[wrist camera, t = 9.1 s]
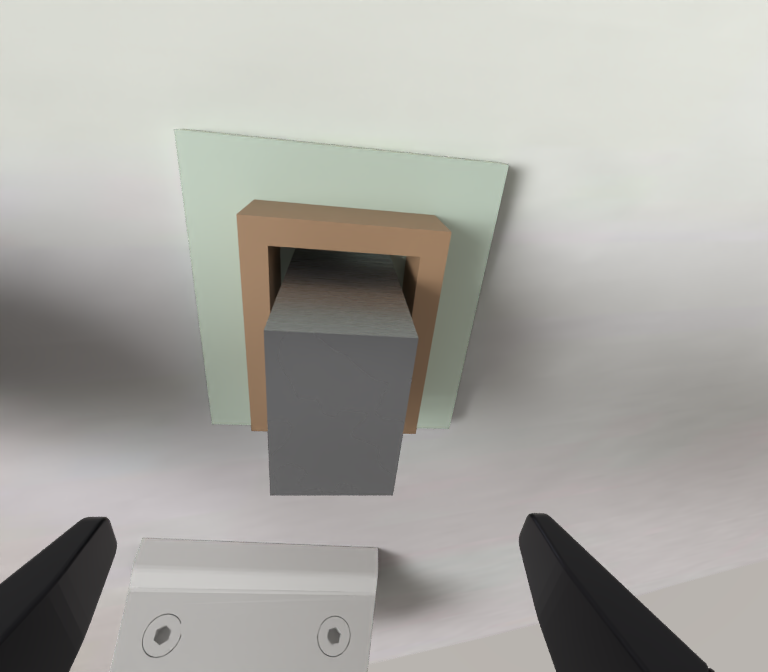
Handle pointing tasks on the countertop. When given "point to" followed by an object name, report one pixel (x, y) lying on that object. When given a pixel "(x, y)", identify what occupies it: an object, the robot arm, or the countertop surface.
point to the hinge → (247, 608)
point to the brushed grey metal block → (337, 374)
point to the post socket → (338, 233)
